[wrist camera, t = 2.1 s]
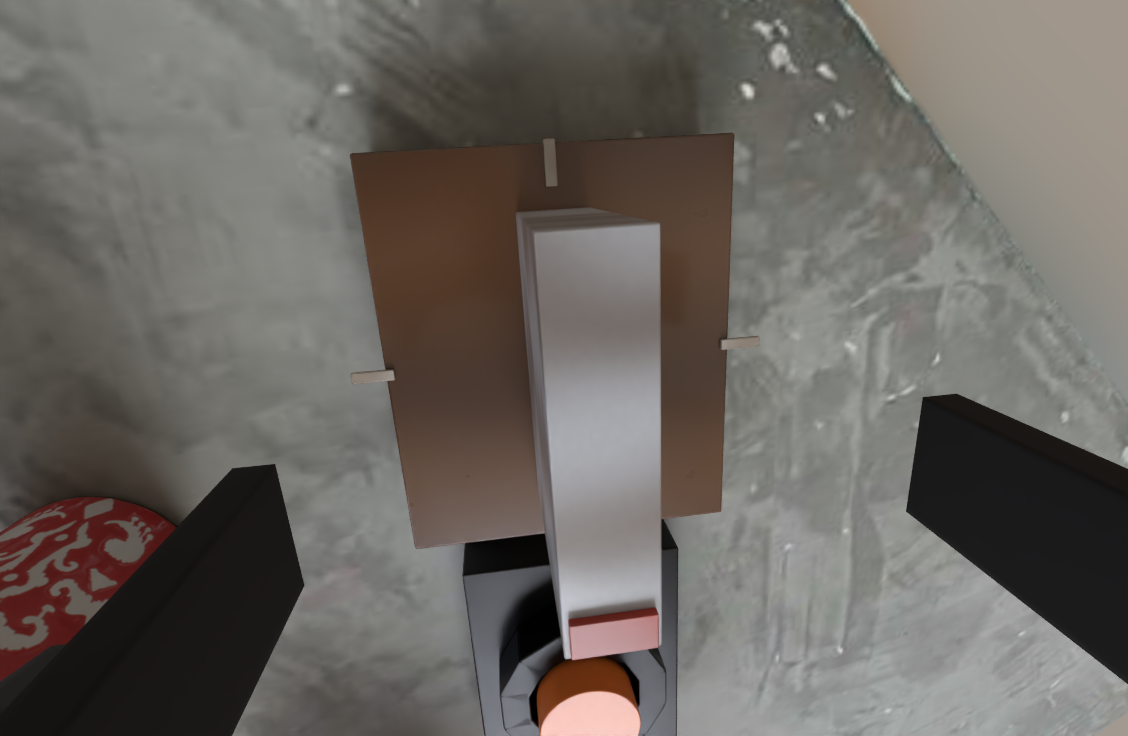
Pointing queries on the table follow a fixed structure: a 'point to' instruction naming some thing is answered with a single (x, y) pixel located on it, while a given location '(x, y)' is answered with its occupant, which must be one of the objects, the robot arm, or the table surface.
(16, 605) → the mug
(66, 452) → the table surface
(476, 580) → the button housing
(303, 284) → the table surface
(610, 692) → the button
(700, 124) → the table surface
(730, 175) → the plate
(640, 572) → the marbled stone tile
